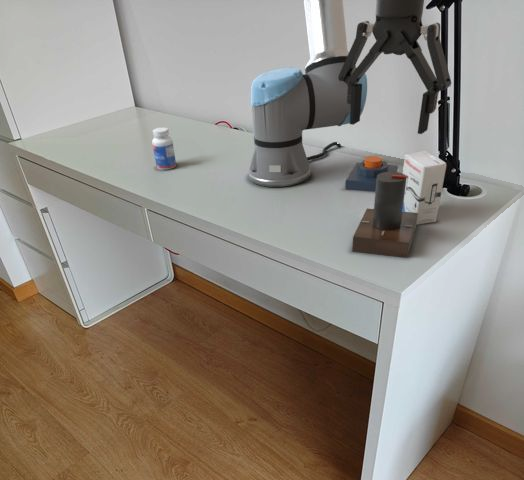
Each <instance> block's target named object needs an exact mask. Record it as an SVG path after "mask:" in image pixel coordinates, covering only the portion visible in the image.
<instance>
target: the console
mask: <svg viewBox="0 0 524 480" xmlns="http://www.w3.org/2000/svg"><path fill="white" fill-rule="evenodd" d="M373 213H374V208H366V209H365V211H364V214H363V215H362V217H361V220H360V222H359V224H358V226H357V228H356V230H355V232H354V233H353V236H352V246H351V248H352V249H351V251H352V252H354V253H363V254H373V255H379V256H389V257H395V258H396V257H397V258H406V259H407V258H408V256H409V253H410V249H411V247H412V246H411V245H412V243H413V239H414V235H415V231H416V229H417V225H416V223H417V216H418V213H413V212H402V219H401V226H400V227H399V228H397V229H394V230H382V229H378V228H376V227H374V226H373Z"/></svg>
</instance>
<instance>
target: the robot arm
mask: <svg viewBox="0 0 524 480" xmlns="http://www.w3.org/2000/svg"><path fill="white" fill-rule="evenodd" d="M375 4H376V5H375V22H374V23H370V21H369V20H365V21H361V22H359V23H358V24H357V25H356V33H355V38H354V40H353V43H352V45H351V47H350V50H349V51H348V43H347V42H348V41H347V31H346V20H345V9H344V0H303V6H304V15H305V24H306V33H307V40H308V41H307V42H308V50H309V60H308V62H307V63H306V65H305V67H304V73H305V74H303V71H302V70H301V68H299V67H292V66H291V67H286V68H285V67H283V68H277V69H273V70H270V71H266V72H264V73H261V74H260V75H258V76H257V77H255V78H254V79H253V81H252V82H251V86H250V105H251V116H252V129H253V143H254V144H253V150H252V155H251V159H250V162H249V163H250V164H249V167H248V177H249V181H250V182H252V184H255V185H258V186H261V187H267V188H282V187H292V186H296V185H298V184H302V183H304V182H305V181H307V180H308V179H309V178H310V176H311V167H310V164H309V163H310V162H309V161H313V160H316V159H320V158H322V157H324V156H326V154H327V151H328V150H329V149H331V148H333V147H335V146H336V147H338V148H341V147H342V144H341V143H339V142H338V141H333V142H331V143H329V144H328V145H326V146H324V147H323V149H322V151H321V152H320V153H318V154H314V155H310V156H307V154H306V151H305V148H304V145H303V131H305V130H306V131H307V130H315V129H321V128H323V129H324V128H328V127H329V128H331V127H341V126H343V125H344V126H345V125H356V124H357V123H359V122H361V116H362V114H363V112H364V108H365V106H366V101H367V96H368V79H367V74H366V72H367V71H369V69H370V68H371V66H372V65H373V64H374V62H375V61H376V60H377V59H378V58H379V57H380V55H381V54H382V53H383V55H392V54H394V55H396V56H402V55H405V56H406V58H407V59H409V60H410V62H411V64H412V66H413V67H414V69H415V71H416V73H417V74H418V77H419V78H420V80H421V82H422V84H423V85H424V87H425V89H426V90H427V91H425V92H423V93H422V99H421V106H420V111H419V121H418V126H417V135H422V134H424V133H426V132H427V131H428V130H429V129H428V128H429V122H430V117H431V114H433V113H434V112H435V111H436V109H437V104H438V97H439V93H440V92H443V91H445V90H446V89H448V88H449V87H451V85H452V79H451V76H450V72H449V69H448V64H447V60H446V56H445V54H444V49H443V46H442V42H441V23H439V22H434V23H432V24H426V25H423V21H422V18H423V12H424V4H425V0H376V3H375ZM371 34H373V37H374V39H375V42H374V44H373V45H372V46H371V47H370V48H369V51H368V52H367V54H366V55H365V56H364V58H363V59H362V61H361V62H360V63H359V64H358V65H357V63H358V61H359V59H360V57H361V55H362V52H363V50H364V47H365V46H366V43H367V41H368V38H369V37H371ZM422 35H423V38H424V40H425V41H426V44H427V49H428V52H429V56H430V60H431V63H432V68H433V70H432V68H431V65H430V64H429V62H428V60H427V59H426V56H425V55H424V53H423V49H422V47H421V45H420V44H419V42H418V40H419V39H420V37H421V36H422ZM356 65H357V66H356ZM433 71H434V72H433ZM337 142H338V143H339V144H337Z"/></svg>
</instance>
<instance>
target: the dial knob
mask: <svg viewBox="0 0 524 480" xmlns="http://www.w3.org/2000/svg"><path fill="white" fill-rule="evenodd" d="M406 179H407V176H406V175H405V174H403V172H399V171H397V172H384V173H380V174H378V175H377V179H376V190H375V192H374V203H373V209H374V213H373V226H374V227H376V228H378V229H382V230H394V229H397V228H399V227H400V226H401V219H402V211H403V203H404V195H405V187H406Z"/></svg>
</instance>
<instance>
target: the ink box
mask: <svg viewBox="0 0 524 480" xmlns="http://www.w3.org/2000/svg"><path fill="white" fill-rule="evenodd" d="M402 167H403V168H402V174H405V175H406V176H407V179H406V187H405V195H404V203H403V211H402V212H413V213H418V216H417V223H416V226H418V225H423V224H429V223H436V222H437V219H438V213H439V209H440V208H439V207H440V203H441V202H440V201H441V198H442V197H441V196H442V191H443V186H444V181H445V176H446V170H447V162H445V161H444V160H442V159H441V158H439V157H438V156H436V155H435V154H434V153H432V152H430V151H429V150H422V151H417V152H410V153H405V154H404V160H403V166H402Z"/></svg>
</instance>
